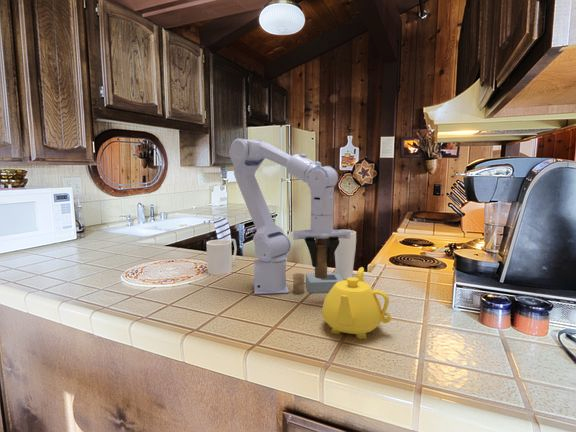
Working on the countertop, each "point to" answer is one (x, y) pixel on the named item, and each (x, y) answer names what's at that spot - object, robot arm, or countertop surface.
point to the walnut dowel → (321, 262)
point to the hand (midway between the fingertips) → (321, 265)
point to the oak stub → (298, 283)
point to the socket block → (322, 282)
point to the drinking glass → (345, 256)
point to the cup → (220, 256)
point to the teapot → (354, 307)
